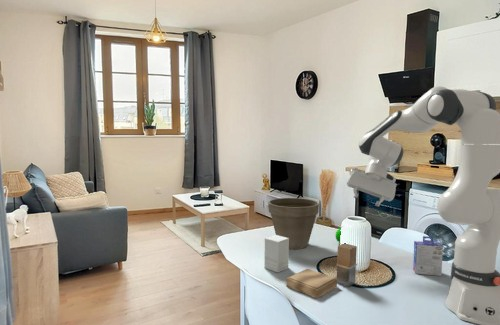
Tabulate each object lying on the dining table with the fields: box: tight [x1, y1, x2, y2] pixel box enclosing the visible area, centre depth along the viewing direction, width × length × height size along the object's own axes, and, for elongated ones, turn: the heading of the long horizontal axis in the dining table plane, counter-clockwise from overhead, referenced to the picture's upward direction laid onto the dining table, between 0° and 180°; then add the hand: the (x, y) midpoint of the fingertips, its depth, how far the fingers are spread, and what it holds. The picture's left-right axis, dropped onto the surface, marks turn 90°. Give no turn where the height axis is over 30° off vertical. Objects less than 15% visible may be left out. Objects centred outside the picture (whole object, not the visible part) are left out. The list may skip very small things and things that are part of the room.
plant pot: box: [267, 197, 320, 250], centre depth 173 cm, size 25×25×22 cm
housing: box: [335, 243, 358, 288], centre depth 130 cm, size 5×5×14 cm
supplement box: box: [263, 234, 290, 273], centre depth 143 cm, size 7×7×13 cm
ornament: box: [335, 227, 342, 244], centre depth 176 cm, size 8×8×10 cm
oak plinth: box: [285, 268, 338, 299], centre depth 126 cm, size 13×13×3 cm
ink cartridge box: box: [412, 235, 444, 277], centre depth 141 cm, size 10×6×14 cm, turn 78°
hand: (366, 201), depth 150 cm, fingers open, 8 cm apart
